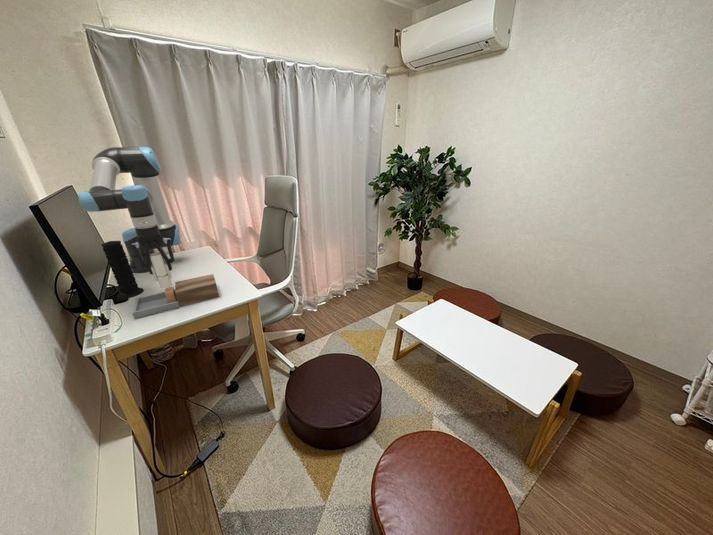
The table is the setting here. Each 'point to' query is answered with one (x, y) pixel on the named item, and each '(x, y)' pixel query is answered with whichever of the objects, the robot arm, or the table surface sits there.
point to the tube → (160, 270)
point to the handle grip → (121, 269)
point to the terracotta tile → (170, 294)
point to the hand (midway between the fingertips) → (163, 278)
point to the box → (152, 305)
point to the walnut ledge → (196, 290)
